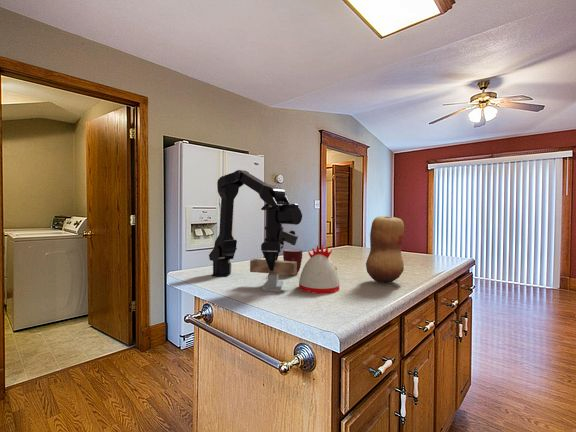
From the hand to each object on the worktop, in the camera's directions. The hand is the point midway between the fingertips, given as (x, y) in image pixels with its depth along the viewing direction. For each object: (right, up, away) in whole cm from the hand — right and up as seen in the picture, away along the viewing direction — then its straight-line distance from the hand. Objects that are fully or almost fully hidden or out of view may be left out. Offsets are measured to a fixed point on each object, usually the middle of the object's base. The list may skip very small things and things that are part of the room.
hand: (273, 268), depth 108 cm
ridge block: (0, -7, 0) cm, 6 cm away
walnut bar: (0, -2, 0) cm, 2 cm away
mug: (+7, -6, +21) cm, 23 cm away
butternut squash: (+42, -7, +9) cm, 43 cm away
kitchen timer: (+16, -7, -1) cm, 17 cm away
